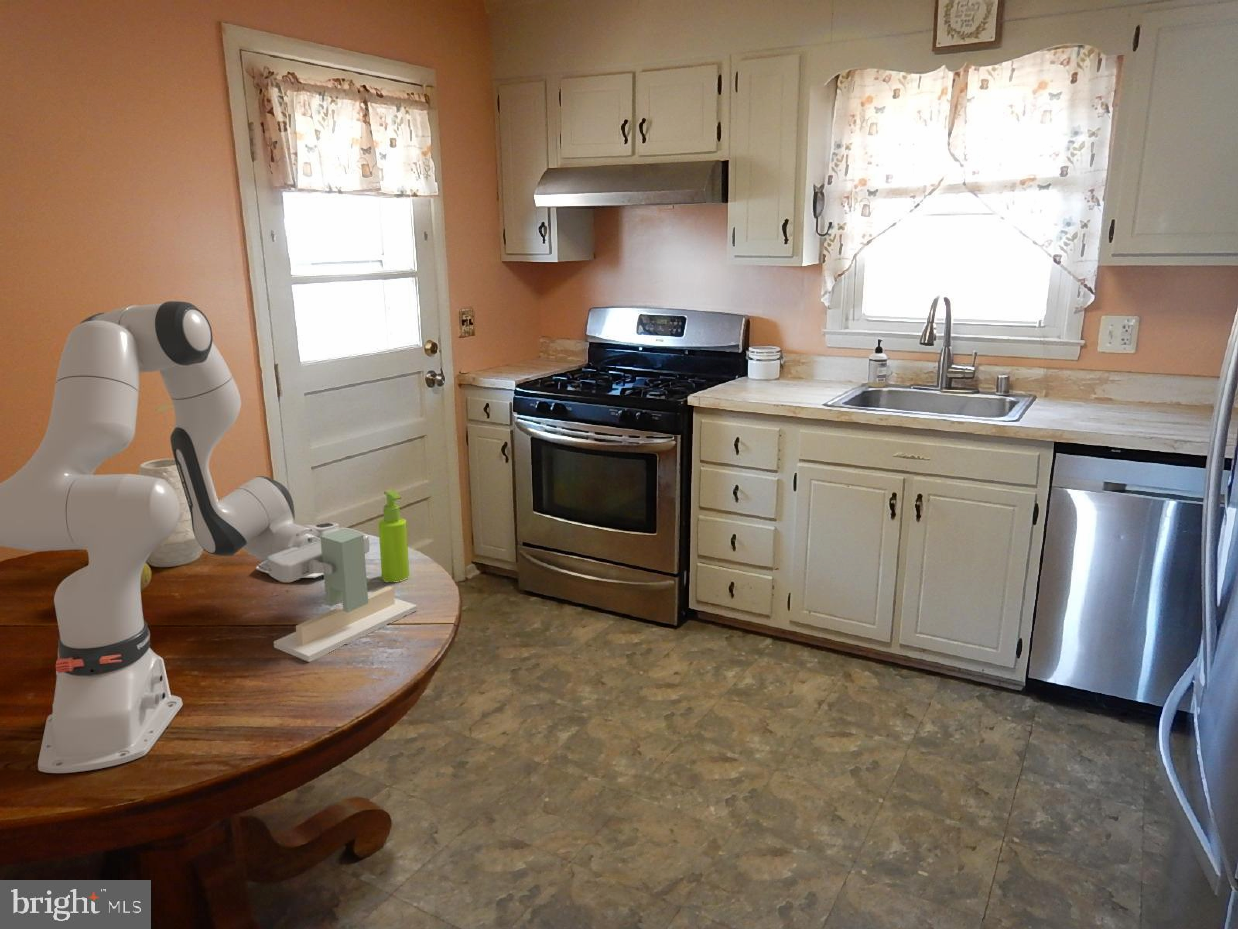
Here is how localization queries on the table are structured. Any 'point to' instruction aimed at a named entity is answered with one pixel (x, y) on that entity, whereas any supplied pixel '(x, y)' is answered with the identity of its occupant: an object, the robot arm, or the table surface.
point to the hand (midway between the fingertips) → (347, 563)
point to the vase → (182, 539)
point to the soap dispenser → (393, 541)
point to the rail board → (344, 633)
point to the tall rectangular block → (345, 569)
